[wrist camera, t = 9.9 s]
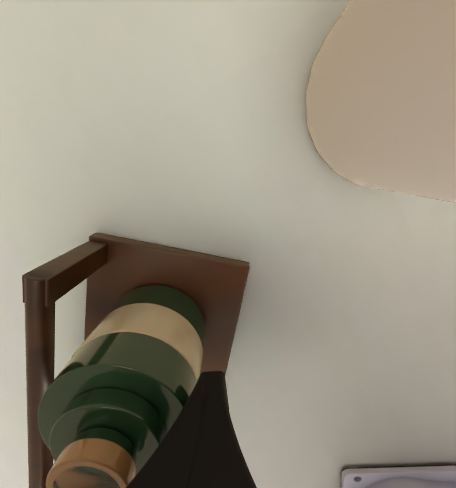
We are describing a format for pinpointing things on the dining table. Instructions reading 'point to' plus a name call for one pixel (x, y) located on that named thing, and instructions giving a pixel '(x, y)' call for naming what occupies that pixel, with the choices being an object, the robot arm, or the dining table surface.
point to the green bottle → (122, 389)
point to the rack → (106, 297)
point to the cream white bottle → (388, 96)
